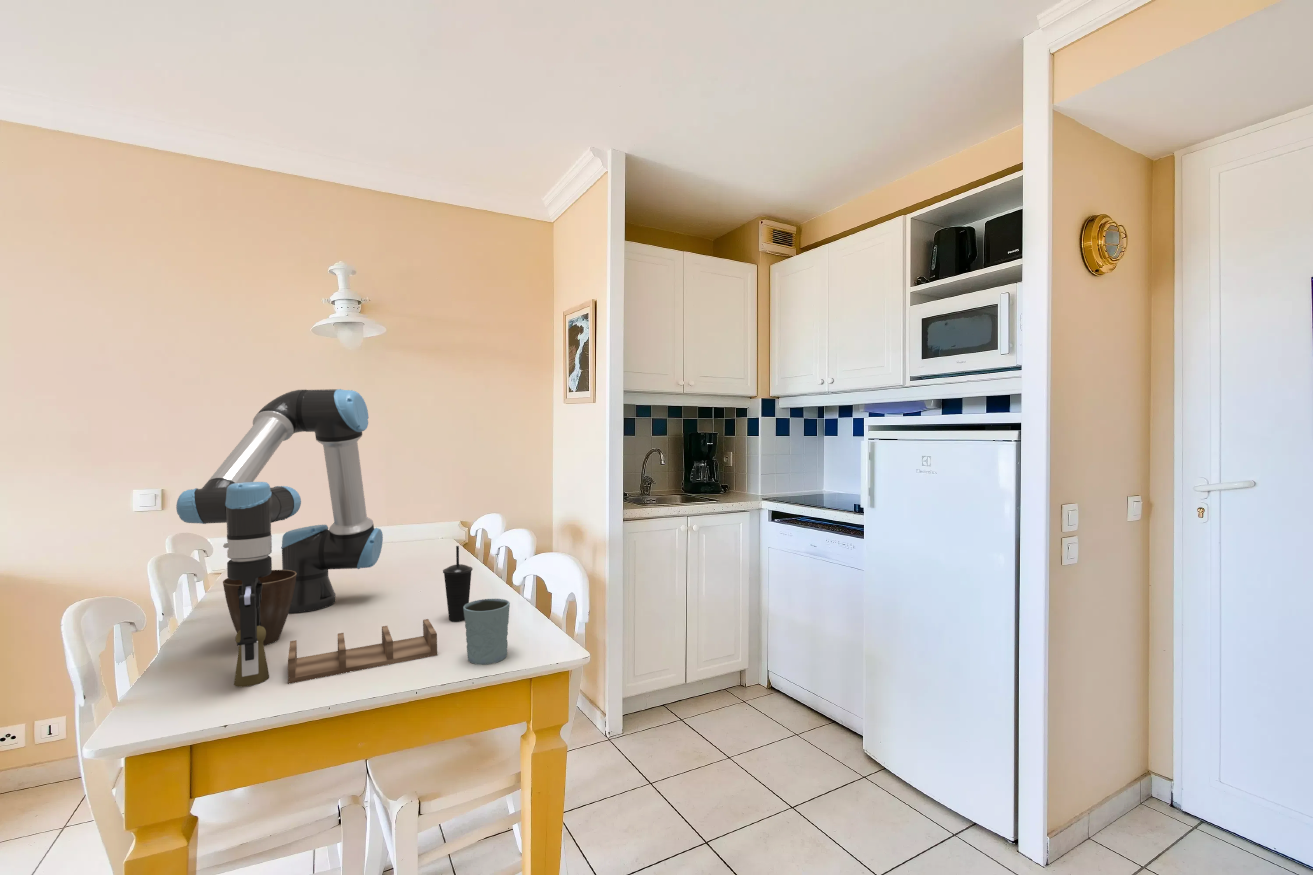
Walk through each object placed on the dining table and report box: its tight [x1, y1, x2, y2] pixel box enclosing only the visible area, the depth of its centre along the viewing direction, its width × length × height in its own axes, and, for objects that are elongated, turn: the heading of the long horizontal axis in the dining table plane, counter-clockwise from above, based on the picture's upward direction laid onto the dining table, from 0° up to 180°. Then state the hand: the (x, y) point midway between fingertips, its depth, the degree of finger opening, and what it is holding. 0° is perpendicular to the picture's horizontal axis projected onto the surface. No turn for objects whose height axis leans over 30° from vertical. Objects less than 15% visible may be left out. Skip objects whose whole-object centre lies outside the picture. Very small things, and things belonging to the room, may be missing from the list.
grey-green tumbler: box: [463, 598, 511, 666], centre depth 132 cm, size 10×10×12 cm
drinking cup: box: [442, 545, 474, 623], centre depth 158 cm, size 8×8×20 cm
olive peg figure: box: [233, 626, 270, 688], centre depth 120 cm, size 6×6×11 cm
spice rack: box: [287, 618, 438, 685], centre depth 131 cm, size 12×29×5 cm, turn 120°
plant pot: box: [222, 569, 297, 646], centre depth 143 cm, size 15×15×16 cm
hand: (251, 669), depth 120 cm, fingers closed on olive peg figure, 5 cm apart
